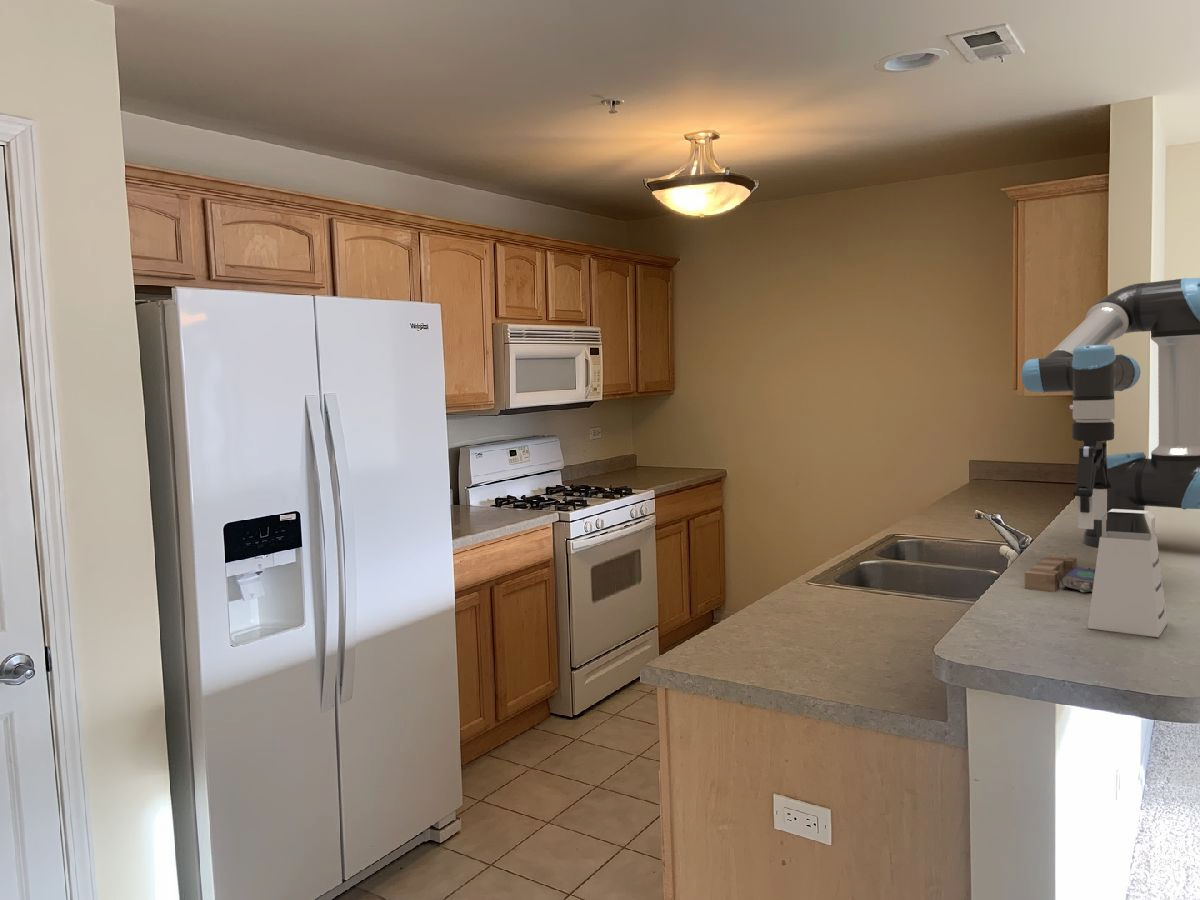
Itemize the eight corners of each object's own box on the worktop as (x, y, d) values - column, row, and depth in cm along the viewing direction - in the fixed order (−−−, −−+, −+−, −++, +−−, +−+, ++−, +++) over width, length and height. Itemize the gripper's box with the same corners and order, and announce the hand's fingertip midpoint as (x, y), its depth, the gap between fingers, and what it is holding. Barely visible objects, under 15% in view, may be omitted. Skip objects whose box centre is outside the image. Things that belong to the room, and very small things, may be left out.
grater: (1099, 614, 161) (1099, 505, 160) (1167, 622, 155) (1168, 509, 153) (1087, 628, 153) (1087, 513, 152) (1158, 637, 147) (1159, 517, 145)
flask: (1121, 570, 181) (1109, 583, 173) (1121, 584, 181) (1108, 598, 173) (1071, 564, 187) (1057, 577, 179) (1071, 578, 188) (1057, 591, 180)
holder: (1049, 570, 199) (1049, 555, 198) (1159, 581, 185) (1159, 564, 185) (1024, 589, 182) (1024, 572, 182) (1143, 602, 169) (1143, 583, 169)
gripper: (1085, 418, 193) (1085, 515, 195) (1058, 423, 174) (1058, 531, 176) (1125, 418, 189) (1124, 517, 190) (1101, 423, 169) (1101, 534, 171)
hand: (1092, 524), depth 183 cm, fingers open, 13 cm apart
